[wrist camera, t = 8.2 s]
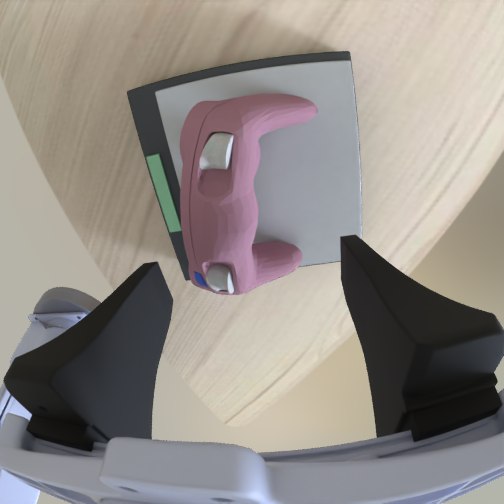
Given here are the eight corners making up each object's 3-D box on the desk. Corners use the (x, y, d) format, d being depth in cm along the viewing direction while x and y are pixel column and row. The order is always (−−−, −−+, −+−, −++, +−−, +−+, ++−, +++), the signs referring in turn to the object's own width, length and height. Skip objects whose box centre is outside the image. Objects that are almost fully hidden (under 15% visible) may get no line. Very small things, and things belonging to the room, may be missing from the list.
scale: (190, 264, 24) (183, 286, 21) (138, 87, 17) (121, 92, 14) (354, 242, 22) (364, 264, 20) (341, 51, 15) (353, 50, 13)
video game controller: (242, 86, 16) (147, 103, 10) (325, 94, 14) (258, 108, 9) (240, 242, 21) (172, 306, 16) (306, 262, 19) (251, 341, 14)
